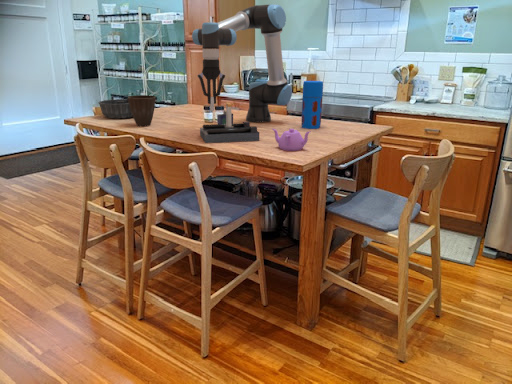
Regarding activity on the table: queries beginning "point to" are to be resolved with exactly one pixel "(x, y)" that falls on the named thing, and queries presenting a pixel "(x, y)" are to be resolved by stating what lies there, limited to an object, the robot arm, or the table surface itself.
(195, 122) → the table surface
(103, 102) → the bundt pan
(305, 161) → the table surface
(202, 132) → the tray
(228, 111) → the lever
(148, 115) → the plant pot
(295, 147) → the teapot
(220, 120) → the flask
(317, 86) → the thermos
